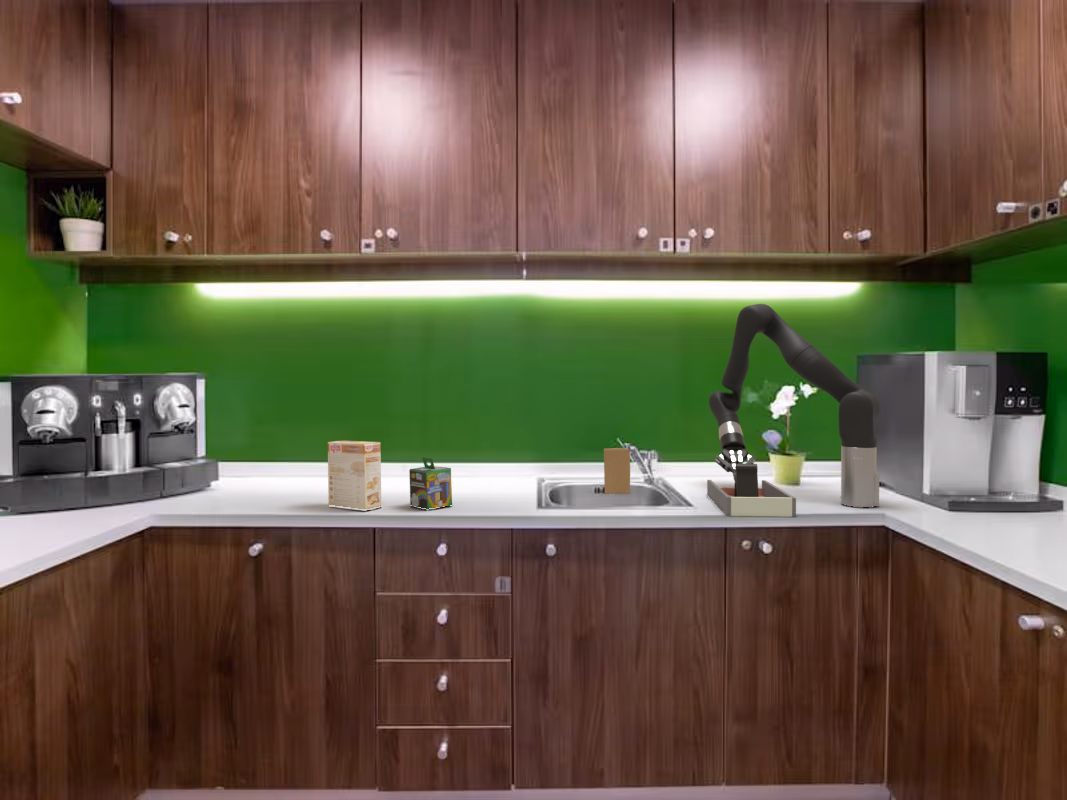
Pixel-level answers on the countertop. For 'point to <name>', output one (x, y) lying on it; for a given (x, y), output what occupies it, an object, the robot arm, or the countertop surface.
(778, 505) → the open storage tray
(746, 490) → the door stopper
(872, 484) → the robot arm
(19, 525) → the countertop surface
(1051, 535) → the countertop surface
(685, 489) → the countertop surface
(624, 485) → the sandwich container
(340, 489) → the coffeecake box
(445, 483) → the chalk box
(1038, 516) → the countertop surface
